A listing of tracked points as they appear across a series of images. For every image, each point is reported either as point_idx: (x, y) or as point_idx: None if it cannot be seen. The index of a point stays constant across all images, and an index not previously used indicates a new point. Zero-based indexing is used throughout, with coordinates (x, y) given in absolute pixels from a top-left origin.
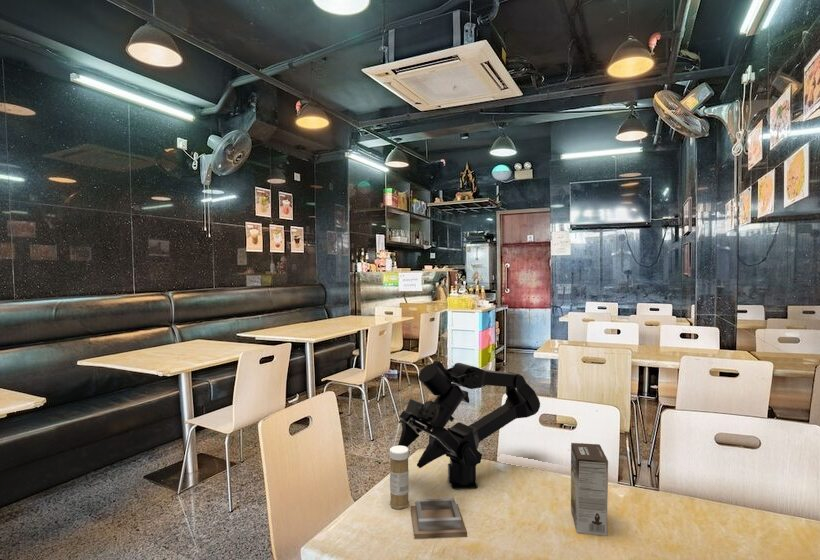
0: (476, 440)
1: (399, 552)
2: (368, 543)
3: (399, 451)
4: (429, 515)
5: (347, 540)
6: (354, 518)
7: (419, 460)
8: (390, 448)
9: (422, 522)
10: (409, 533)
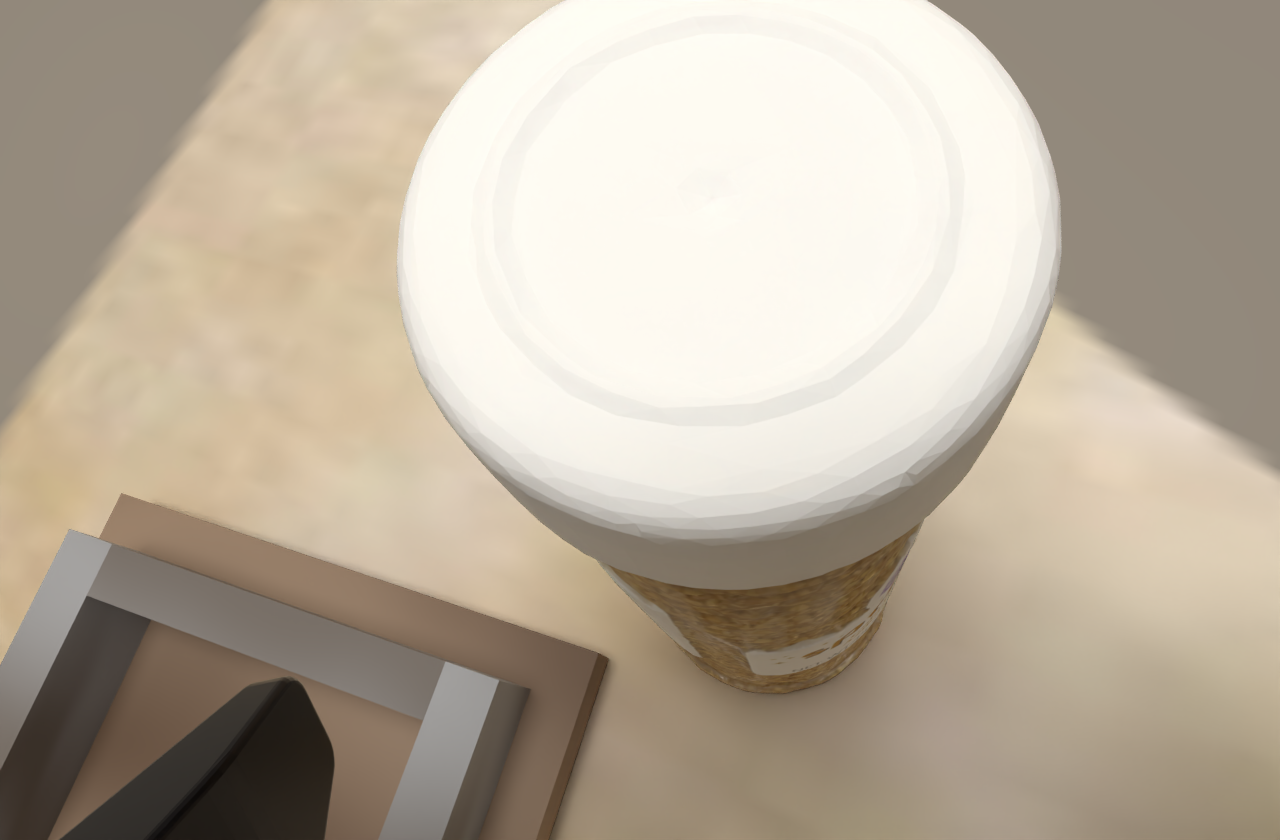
0: None
1: (76, 333)
2: (296, 148)
3: (495, 152)
4: None
5: (407, 20)
6: None
7: (201, 750)
8: None
9: (59, 570)
10: (244, 493)
